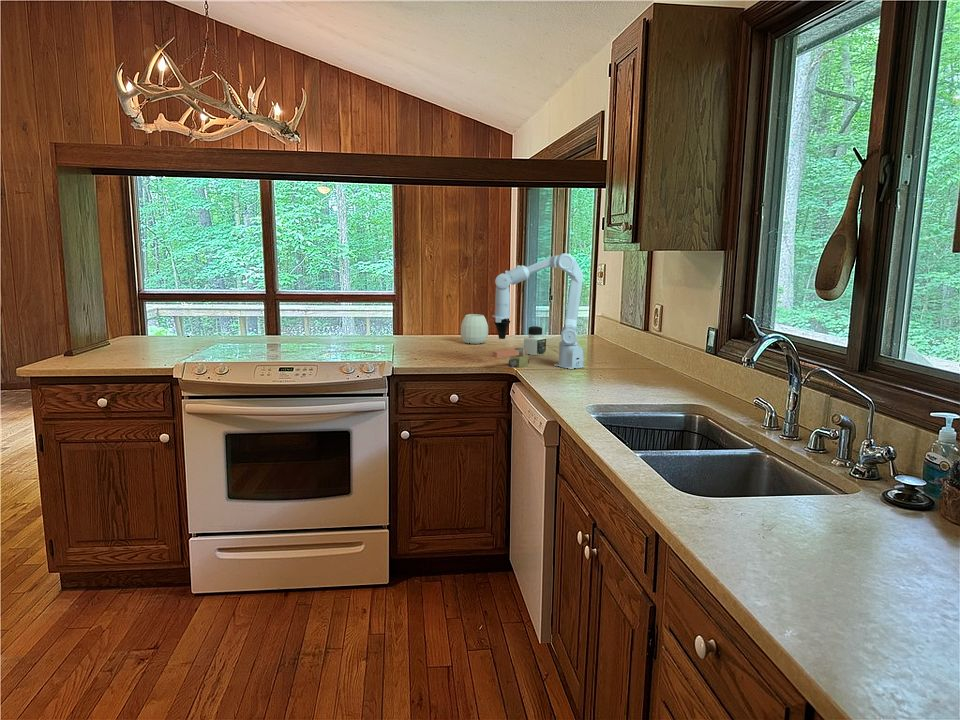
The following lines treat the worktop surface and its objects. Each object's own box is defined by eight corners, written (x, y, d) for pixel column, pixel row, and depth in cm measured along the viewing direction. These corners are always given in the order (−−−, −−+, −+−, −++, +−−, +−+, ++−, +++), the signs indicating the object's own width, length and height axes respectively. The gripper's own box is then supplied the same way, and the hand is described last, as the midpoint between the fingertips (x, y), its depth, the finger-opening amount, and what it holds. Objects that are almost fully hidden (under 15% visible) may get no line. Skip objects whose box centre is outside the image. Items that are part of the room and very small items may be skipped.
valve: (531, 366, 268) (531, 355, 267) (515, 368, 264) (515, 357, 263) (521, 363, 273) (522, 353, 272) (506, 365, 268) (506, 355, 268)
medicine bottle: (537, 355, 292) (537, 328, 290) (523, 354, 297) (524, 326, 294) (546, 353, 298) (546, 326, 296) (532, 352, 302) (532, 325, 300)
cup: (454, 343, 324) (455, 315, 322) (471, 340, 335) (472, 313, 332) (476, 346, 317) (477, 317, 314) (493, 343, 327) (494, 315, 325)
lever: (520, 353, 270) (520, 347, 270) (525, 354, 267) (525, 348, 267) (492, 356, 262) (492, 350, 261) (497, 358, 259) (497, 351, 259)
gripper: (497, 302, 275) (496, 335, 277) (488, 305, 261) (487, 340, 263) (514, 303, 273) (513, 336, 275) (505, 306, 259) (505, 341, 262)
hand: (502, 338), depth 269 cm, fingers closed
